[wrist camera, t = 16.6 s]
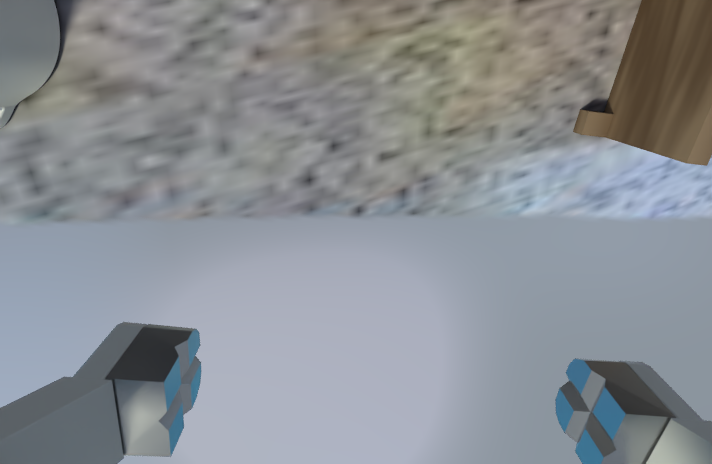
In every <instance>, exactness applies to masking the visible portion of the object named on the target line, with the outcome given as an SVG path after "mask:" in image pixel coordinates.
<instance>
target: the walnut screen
mask: <svg viewBox="0 0 712 464" xmlns="http://www.w3.org/2000/svg"><path fill="white" fill-rule="evenodd" d="M573 132H575V133H578V134H581V135H589V136H598V137H606V138H609V139H612V140H615V141H619V142H622V143H625V144H628V145H631V146H634V147H637V148H640V149H644V150H647V151H650V152H653V153H656V154H659V155H662V156H665V157H668V158H672V159H675V160H678V161H681V162H684V163H689V164H698V165H707V164H708V162H709V160H710V158H711V155H712V0H642V2H641V5H640V8H639V11H638V13H637V16H636V19H635V22H634V25H633V28H632V31H631V34H630V37H629V40H628V43H627V46H626V49H625V52H624V55H623V58H622V61H621V64H620V66H619V69H618V72H617V75H616V78H615V81H614V84H613V87H612V90H611V93H610V96H609V99H608V102H607V105H606V108H605V111H604V112H597V111H589V110H581V109H580V112H579V115H578V118H577V121H576V124H575V128H574V131H573Z"/></svg>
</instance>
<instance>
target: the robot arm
mask: <svg viewBox="0 0 712 464" xmlns="http://www.w3.org/2000/svg"><path fill="white" fill-rule="evenodd" d="M59 46H60V26H59V19H58V13H57V9H56V6H55V2H54V0H0V128H2V127H3V126H4V125H5V124H6V123H7V122H8V120H9V118H10V116H11V115H12V113H13V110H14V108H15V106H16V105H17V104H18V103H19V102H20V101H22V100H23V99H25V98H26V97H28V96H29V95H31V94H33V93H34V92H35V91H37V90H38V89H39V88H40V87H41V86H42V85H43V84H44V83H45V82H46V80H47V79H48V78H49V76H50V75H51V73H52V71H53V69H54V67H55V64H56V61H57V57H58V53H59ZM199 346H200V337H199V332H198V330H197V329H192V328H182V327H172V326H161V325H151V324H148V325H147V324H139V323H128V322H123V323H120V324H118V325H117V326H116V327H115V328H114V329H113V330H112V331H111V333H110V334H109V335H108V336H107V337H106V338H105V340H104V341H103V342H102V343H101V344H100V345H99V347H98V348H97V349H96V350H95V351H94V353H93V354H92V355H91V356H90V357H89V358H88V360H87V361H86V362H85V363H84V364H83V366H82V367H81V368H80V369H79V370H78V371H77V373H76V374H75V375H74V376H73V377H63V378H61V379H59V380H57V381H54V382H52V383H50V384H49V385H46V386H44V387H42V388H40V389H38V390H36V391H34V392H32V393H30V394H28V395H26V396H24V397H22V398H20V399H18V400H16V401H14V402H12V403H10V404H8V405H6V406H4V407H1V408H0V464H117V463H119V462H120V461H121V460H122V459H123V458H124V455H128V456H162V457H170V456H171V455H172V453H173V451H174V448H175V446H176V444H177V442H178V439H179V437H180V435H181V433H182V430H183V428H184V421H183V415H184V414H185V413H187V412H188V411H189V410H191V409H192V407H193V405H194V402H195V400H196V397H197V394H198V390H199V386H200V379H201V362H200V361H199V359H198V358H197V357H196V356H195V355H196V353H197V351H198V348H199ZM566 374H567V376H568V379H569V382H567V383H566V384H565V385H563V386H562V387H561V388H560V389H559V391H558V394H557V397H556V415H557V418H558V421H559V424H560V425H561V427H562V429H563V431H564V433H565V434H567V435H568V436H569V437H570V438H572V439H573V440H574V441H576V442H577V445H576V450H575V451H576V454H577V455H578V457H579V459H580V460H581V462H582V464H712V422H711V421H704V420H702V419H701V418H700V416H699V415H697V413H696V412H695V411H694V410H693V409H692V408H691V407H690V406H689V405H688V404H687V403H686V402H685V401H684V400H683V399H682V398H681V397H680V396H679V395H678V394H677V393H676V392H675V391H674V390H673V389H672V388H671V387H670V386H669V385H668V384H667V383H666V382H665V381H664V380H663V379H662V378H661V377H660V376H659V375H658V374H657V373H656V372H655V371H654V370H653V369H652V368H651V367H650V366H649V365H647V364H645V363H643V362H630V361H619V362H616V361H602V360H588V359H574V360H573V361H572V362H571V363H570V364H569V366H568V369H567V371H566Z"/></svg>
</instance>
